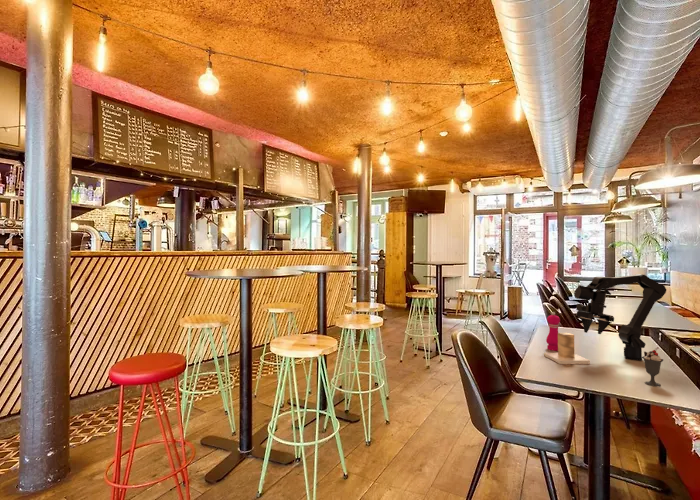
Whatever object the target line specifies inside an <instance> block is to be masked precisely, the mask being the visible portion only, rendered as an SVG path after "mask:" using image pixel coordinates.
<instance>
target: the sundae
mask: <svg viewBox="0 0 700 500" xmlns="http://www.w3.org/2000/svg"><path fill="white" fill-rule="evenodd" d="M658 349H659V347H656V348H655V349H653V350H651V351H648V352H647V351H643V353H644V354H643V355H644V356H643V355H642V360H643V363H644V367H645V371H646V373H647V374H648V375H650V379H649V381H645V382H644V384H645V385H647V386H652V387H657V386H659V387H661V386H662V385H661V384H660V383H658V382H656V379H655V377H656V376H657V375H659V373H660V371H661V365H662V362H664V358H661V356H660V355H659V353H658V352H657V350H658Z"/></svg>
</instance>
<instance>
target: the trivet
mask: <svg viewBox="0 0 700 500" xmlns="http://www.w3.org/2000/svg"><path fill="white" fill-rule="evenodd" d="M574 354H575V358H563V357H561V356H559V355H558V352H544V353H543V356H544V357H545V358H548V359H550V360H551V361H553V362H556V363H557V364H559V365H590V364H591V360H590V359H588V358H585V357H583V356H581V355H579V354H577V353H574Z"/></svg>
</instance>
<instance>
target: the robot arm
mask: <svg viewBox="0 0 700 500" xmlns="http://www.w3.org/2000/svg"><path fill="white" fill-rule="evenodd" d="M630 284H638V285H639V287H640V288H642V289H643V290H642V300H641V301H640V302H639V305H638V307H636V310H635V312H634V314H633V316H632V317H631V320H630V321H629V323H628V324H622V325H621V326H620V329H619V330H618V338H619V340H621V342H622V344H624V347H623V357H624V358H625V359H626V360H634V361H641V362H642V361H643V358H642V357H643V352H642V351H643V350H642V349H644V348H645V347H646V342H645V341H643V340H642V339H641V337H642V327H643V325H644V323H645V321H646V319H648V318H647V317H648V316H649V315H650V312H651V311H652V309H653V307H654V306H655V303H656V302H658V301H659V300H661V299H662V298H663V297H664V295H665V294H666V293H667V288H666V286H665V285H664V284H662V283H659V282H658V281H655V280H654V279H652V278H651V277H649V276H647V275H646V274H641V273H636V274H632V275H631V274H630V275H623V276H615V277H614V276H613V277H611V276H610V277H609V276H608V277H607V276H595V277H593V279H592V281H591V282H589V284H587V285H586V286H584V285H580V284H578V285H577V287H576V289H575V290H574V293H573V294H574V298H575V299H578V300H584V301H590V302H588V303H587V305H583V304H581V303H577V304H576V313H575V314H576V316H577V317H578V319H580V320H581V323H582V326H583V327H582V328H583V332H584V333H589V329H590V327H591V325H592V323H593V322H594V321H593V318H595V319H596V321H597V323H598V326H597V334H598V335H601V334H602V333H603V332H604V331H605V329H607V327H608V326H609V325H610V324H612V322H613V323H614V322H615V317H614V316H613V315H611V314H606V313H604V310H605V309H606V308H607V305H605V304H606V298H607V295H612V293H611V292H610V291H609V289H610V288H611V289H612V288H614V287H616V286H621V285H622V286H623V285H630Z"/></svg>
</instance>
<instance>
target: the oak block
mask: <svg viewBox="0 0 700 500" xmlns="http://www.w3.org/2000/svg"><path fill="white" fill-rule="evenodd" d="M557 353H558V355H559V356H561V357H563V358H575V354H576V353H575V334H573V333H569V332H558V351H557Z"/></svg>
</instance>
